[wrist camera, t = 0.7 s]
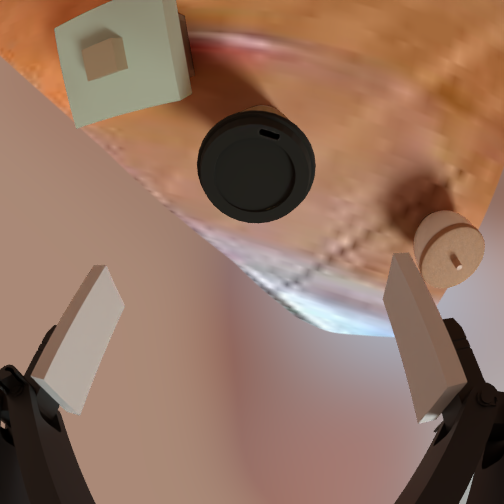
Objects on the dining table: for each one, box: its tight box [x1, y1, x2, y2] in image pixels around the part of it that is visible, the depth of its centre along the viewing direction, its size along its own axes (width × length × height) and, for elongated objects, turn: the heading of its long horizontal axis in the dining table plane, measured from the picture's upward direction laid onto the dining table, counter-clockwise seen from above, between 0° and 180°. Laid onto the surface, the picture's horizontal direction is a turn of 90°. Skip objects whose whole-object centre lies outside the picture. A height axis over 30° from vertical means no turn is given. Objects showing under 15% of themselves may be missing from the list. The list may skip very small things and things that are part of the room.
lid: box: [54, 0, 192, 128], centre depth 21 cm, size 11×11×6 cm
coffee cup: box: [197, 105, 316, 223], centre depth 29 cm, size 10×10×15 cm
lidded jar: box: [413, 210, 485, 288], centre depth 38 cm, size 11×11×9 cm
